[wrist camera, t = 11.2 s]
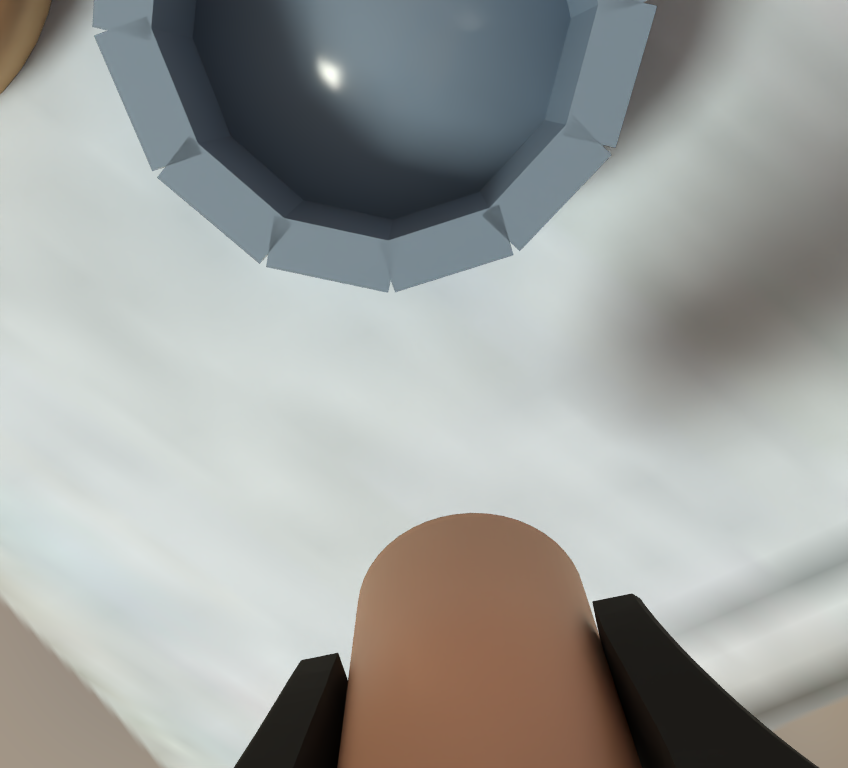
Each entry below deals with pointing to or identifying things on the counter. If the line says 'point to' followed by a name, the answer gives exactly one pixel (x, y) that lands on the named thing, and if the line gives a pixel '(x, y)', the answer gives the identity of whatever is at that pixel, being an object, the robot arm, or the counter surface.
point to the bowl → (375, 121)
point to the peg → (479, 656)
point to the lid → (19, 34)
